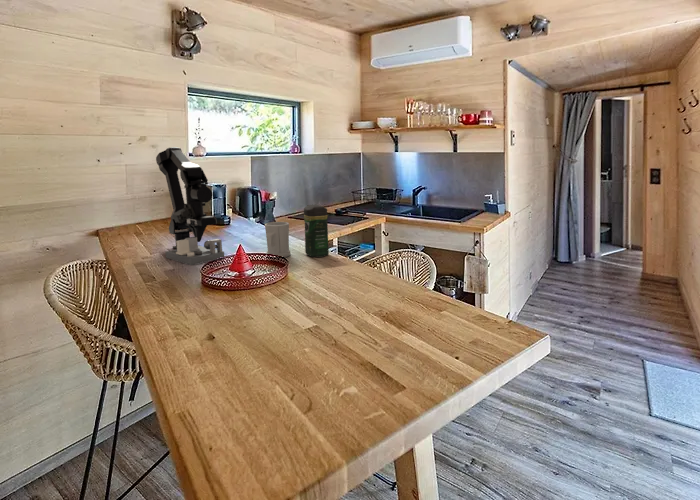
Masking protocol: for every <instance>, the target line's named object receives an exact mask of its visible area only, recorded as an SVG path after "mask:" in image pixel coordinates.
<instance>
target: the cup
mask: <svg viewBox="0 0 700 500" xmlns="http://www.w3.org/2000/svg"><path fill="white" fill-rule="evenodd" d="M264 229H265V237H266V238H265V239H266V245H267V248H266V249H267V251H266V255H267V254H274V255H279V256H283V257H284V258H288V257H289V256H291V250H290V239H289V238H290V234H289V233H290V222H286V221H273V222H267V223H265V224H264Z"/></svg>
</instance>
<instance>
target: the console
mask: <svg viewBox="0 0 700 500" xmlns="http://www.w3.org/2000/svg"><path fill="white" fill-rule="evenodd" d="M208 241H209V243H210V249H206V248H205V247H204V245H203V246H202V245H198V248H199V249H200V250H199V251H194V252H188V253H187V254H185V255H179V254H176V252H177V249H176V248H175V249H172V250H166V251H165V258H166V259H169V260H172V261H175V262H179V263H181V264H186V265H189V266H193V265H198V264H203V263H207V262H212V261H216V260H215V259H217V258H220V257H225V251H224V250H223V245H222V243H223V242H222V239H221V238H215V239H209V240H208ZM215 245H217V246H218V247H217V248H215ZM217 260H218V259H217Z"/></svg>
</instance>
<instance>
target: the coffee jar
mask: <svg viewBox="0 0 700 500" xmlns="http://www.w3.org/2000/svg"><path fill="white" fill-rule="evenodd" d="M328 215H329V214H328V208H327V207H325V206H322V205H319V204H306V206H305V207H304V208H303V220H304V248H305V249H304V250H305V251H304V253H305V254H306V255H307V256H309V257H312V258H314V257H315V258H316V257H317V258H322V257H325V256H328V255H329V253H330V250H329V230H328V221H329V220H328Z"/></svg>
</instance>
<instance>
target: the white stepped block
mask: <svg viewBox="0 0 700 500" xmlns="http://www.w3.org/2000/svg"><path fill="white" fill-rule="evenodd" d="M185 239H187V240H189V250H190V251H191V252H194V251H199V250H200V249H199V248H198V243H199V242H197V237H195V236H190V237H189V238H185Z"/></svg>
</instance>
